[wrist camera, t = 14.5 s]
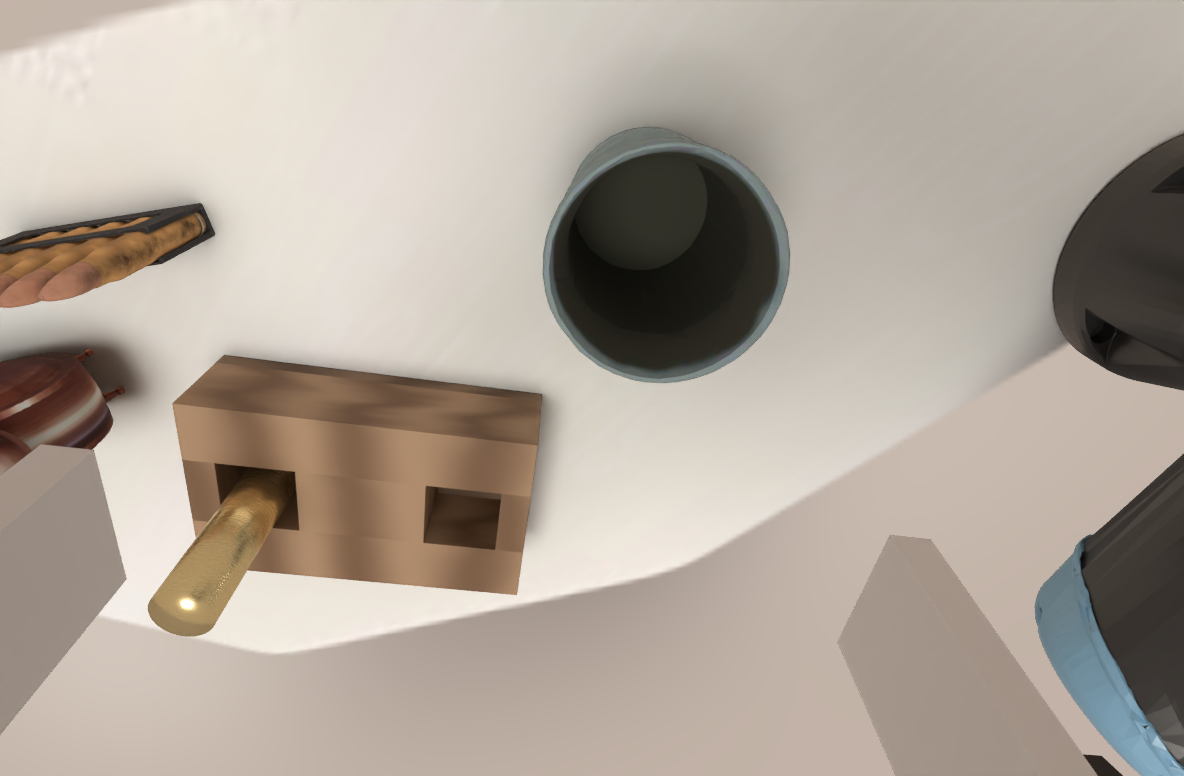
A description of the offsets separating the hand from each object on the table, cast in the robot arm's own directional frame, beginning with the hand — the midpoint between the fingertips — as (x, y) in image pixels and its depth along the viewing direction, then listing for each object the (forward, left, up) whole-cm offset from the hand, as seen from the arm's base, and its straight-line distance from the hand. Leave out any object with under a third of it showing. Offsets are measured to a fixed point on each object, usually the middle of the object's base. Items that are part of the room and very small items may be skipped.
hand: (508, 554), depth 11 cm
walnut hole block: (+9, +19, -29) cm, 36 cm away
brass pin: (+15, +19, -28) cm, 37 cm away
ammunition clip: (+24, +6, -29) cm, 38 cm away
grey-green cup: (-5, 0, -29) cm, 29 cm away
